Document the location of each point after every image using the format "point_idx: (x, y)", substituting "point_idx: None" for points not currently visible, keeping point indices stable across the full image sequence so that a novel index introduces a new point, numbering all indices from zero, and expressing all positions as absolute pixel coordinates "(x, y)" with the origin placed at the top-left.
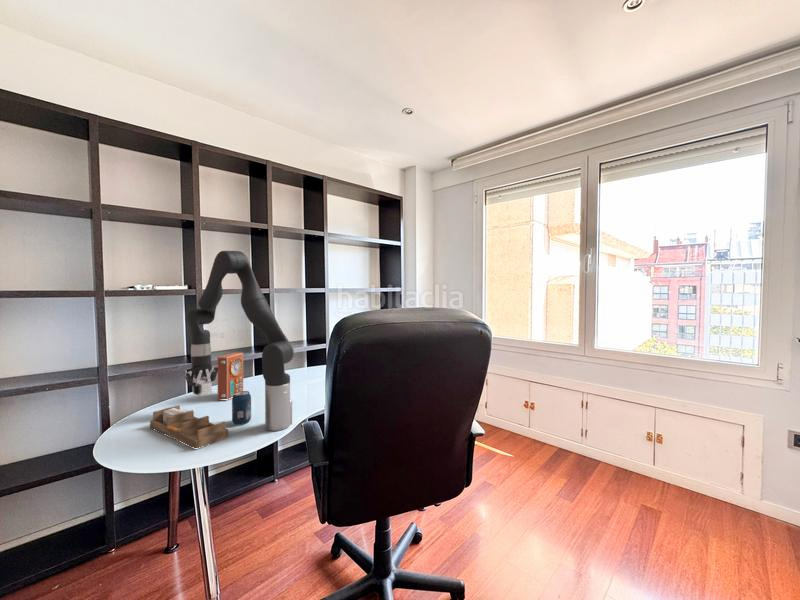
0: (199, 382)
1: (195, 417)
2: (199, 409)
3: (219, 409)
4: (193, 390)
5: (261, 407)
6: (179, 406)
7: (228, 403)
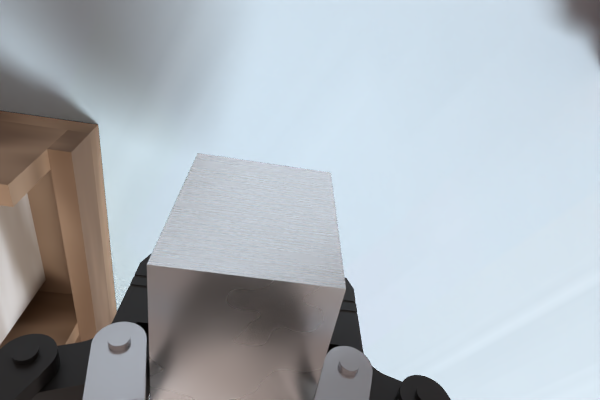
0: (200, 382)
1: (93, 333)
2: (313, 50)
3: (373, 205)
4: (132, 285)
5: (477, 377)
6: (15, 202)
7: (523, 152)
